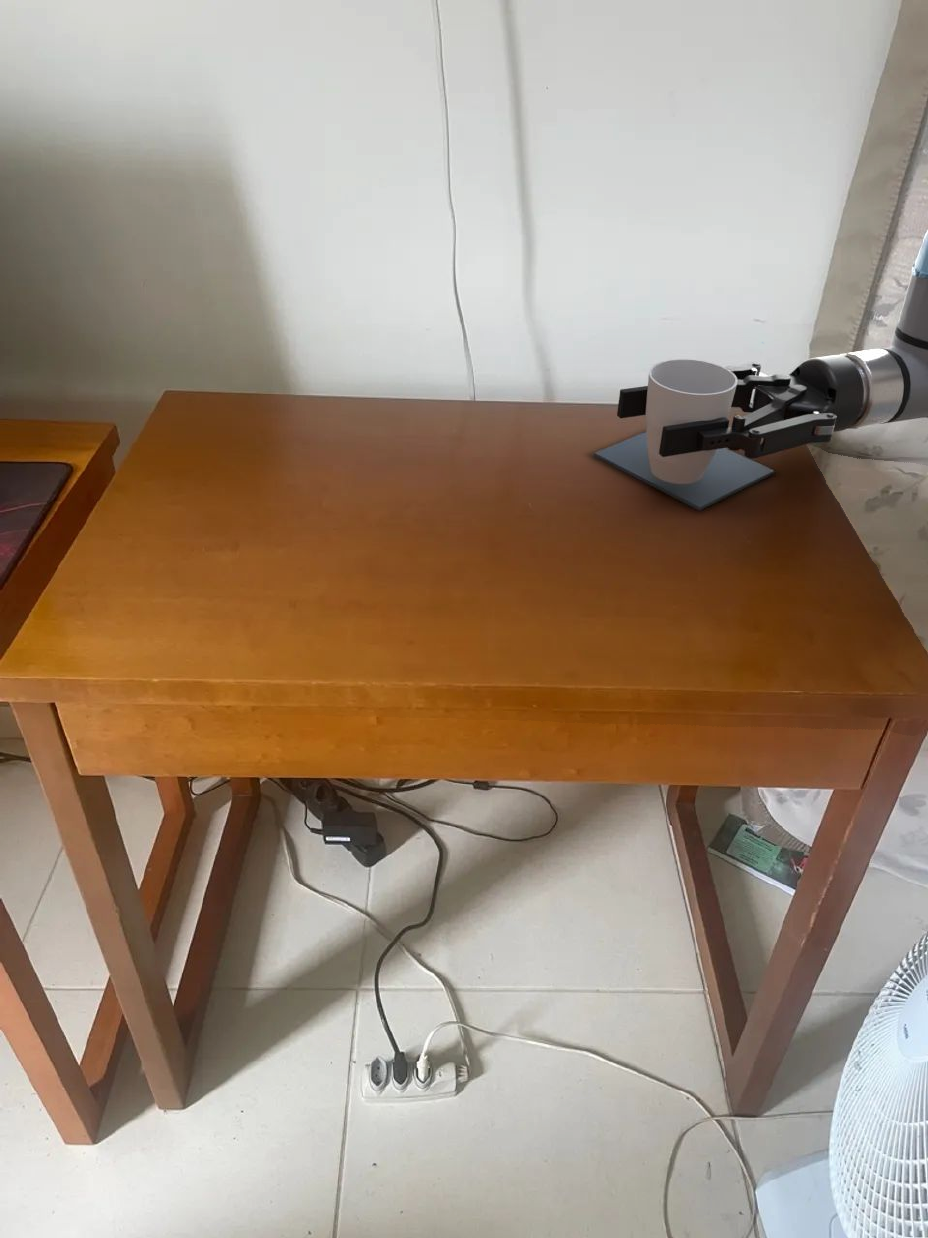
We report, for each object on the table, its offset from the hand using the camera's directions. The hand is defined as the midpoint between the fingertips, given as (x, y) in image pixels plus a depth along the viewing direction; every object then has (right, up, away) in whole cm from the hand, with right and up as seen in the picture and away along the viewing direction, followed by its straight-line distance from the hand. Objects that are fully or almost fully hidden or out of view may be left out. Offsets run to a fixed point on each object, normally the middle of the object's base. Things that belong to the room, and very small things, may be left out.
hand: (641, 422), depth 92 cm
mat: (+6, -2, +10) cm, 12 cm away
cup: (+4, -4, +5) cm, 8 cm away
